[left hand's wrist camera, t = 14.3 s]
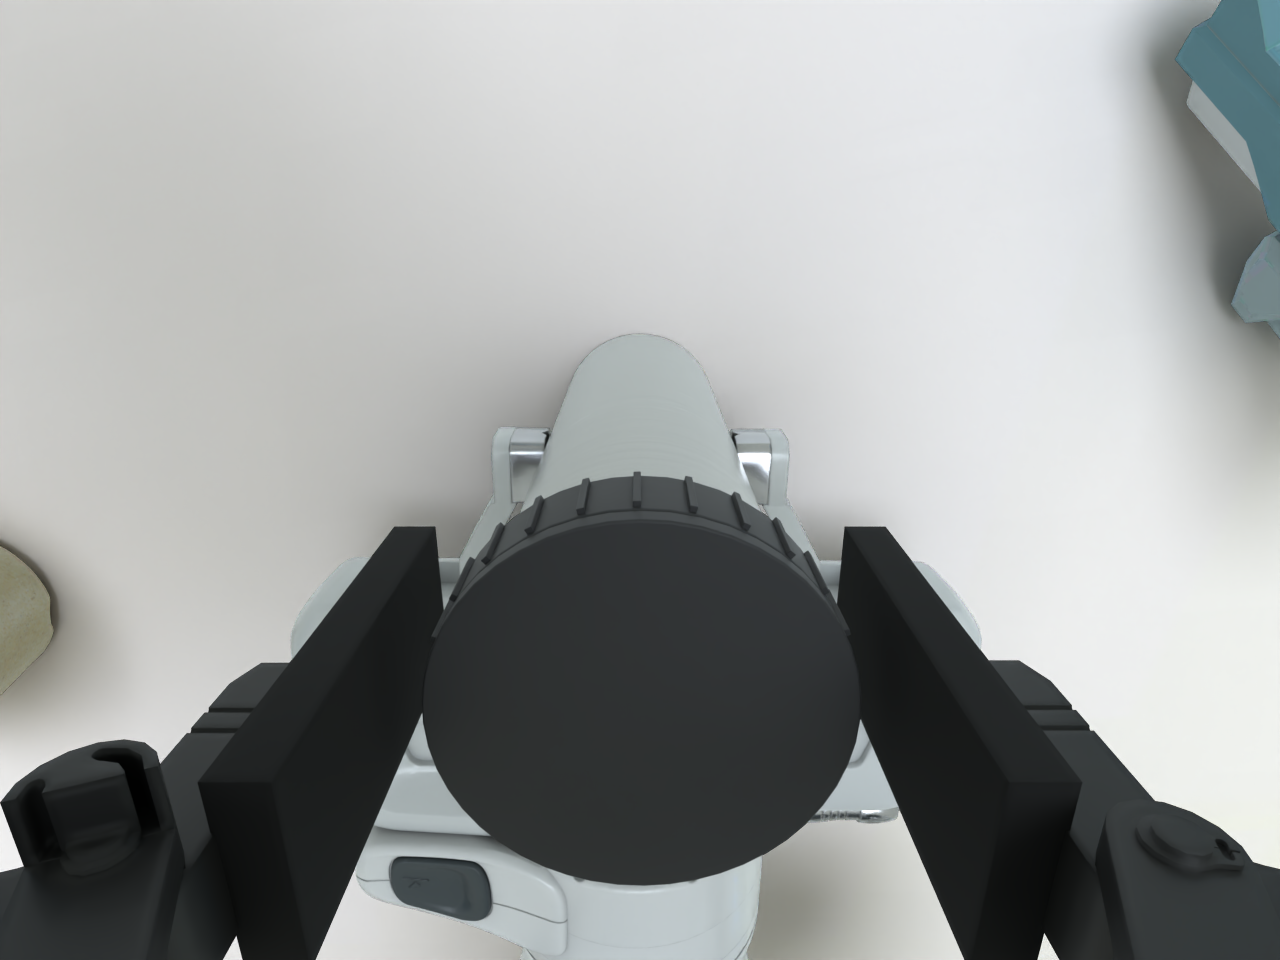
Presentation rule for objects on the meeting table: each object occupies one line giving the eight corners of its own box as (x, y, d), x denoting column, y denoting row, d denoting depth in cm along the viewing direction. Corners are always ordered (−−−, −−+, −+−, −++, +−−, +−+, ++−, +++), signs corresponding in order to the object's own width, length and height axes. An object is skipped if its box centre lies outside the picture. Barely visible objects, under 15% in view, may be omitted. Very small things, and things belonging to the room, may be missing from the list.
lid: (845, 784, 13) (875, 866, 11) (490, 824, 13) (469, 909, 12) (826, 443, 11) (859, 484, 9) (402, 500, 11) (362, 549, 10)
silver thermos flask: (719, 464, 28) (831, 821, 12) (580, 483, 28) (501, 858, 12) (704, 323, 26) (810, 514, 10) (555, 344, 27) (421, 564, 10)
